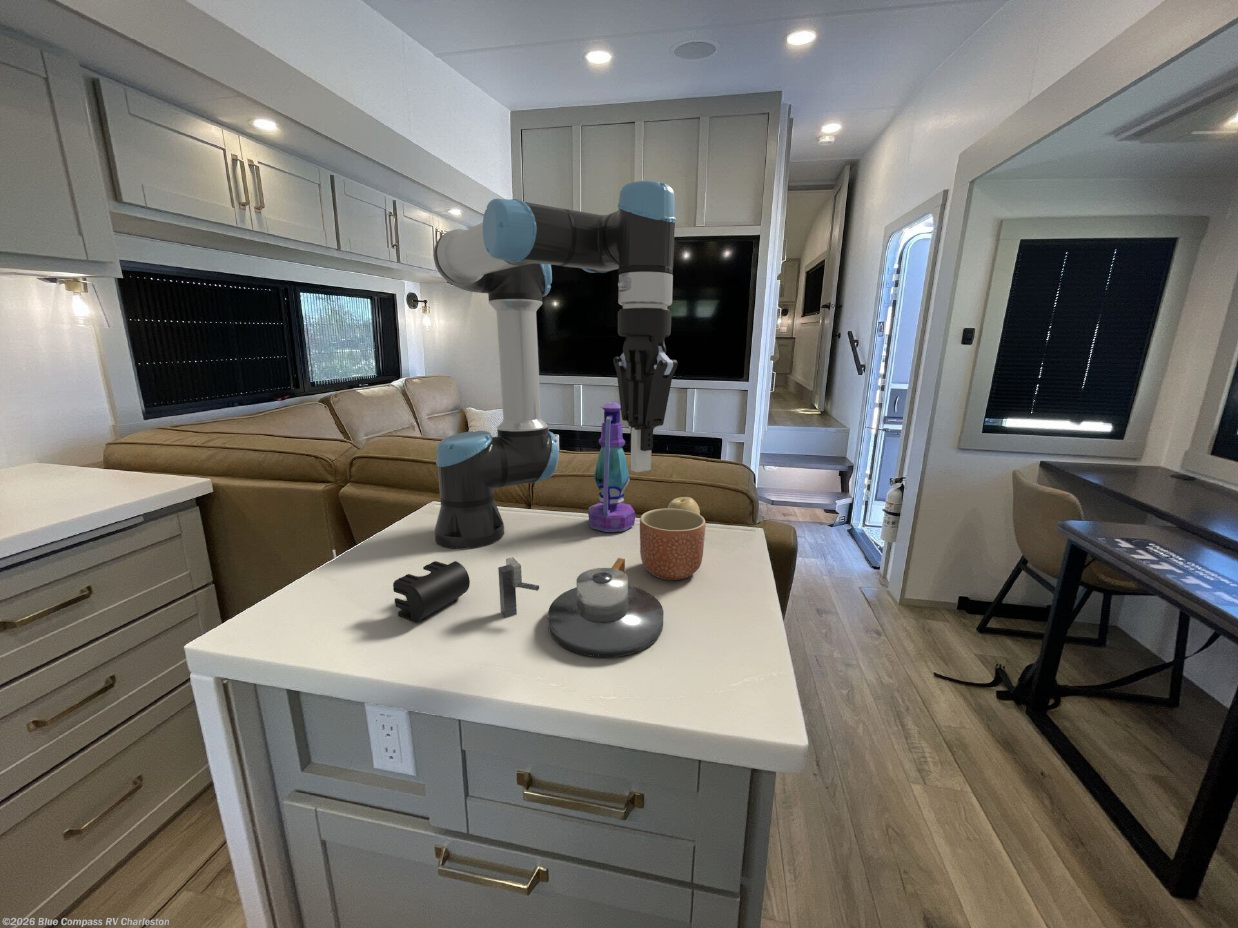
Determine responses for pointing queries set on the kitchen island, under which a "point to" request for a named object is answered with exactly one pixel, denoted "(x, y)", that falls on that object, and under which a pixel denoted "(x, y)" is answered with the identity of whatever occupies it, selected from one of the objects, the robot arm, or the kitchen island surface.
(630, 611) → the turntable
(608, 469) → the lantern
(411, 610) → the end cap
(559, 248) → the robot arm
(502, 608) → the gray post with pin
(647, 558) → the planter
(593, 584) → the cover
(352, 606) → the kitchen island surface
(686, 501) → the apple
